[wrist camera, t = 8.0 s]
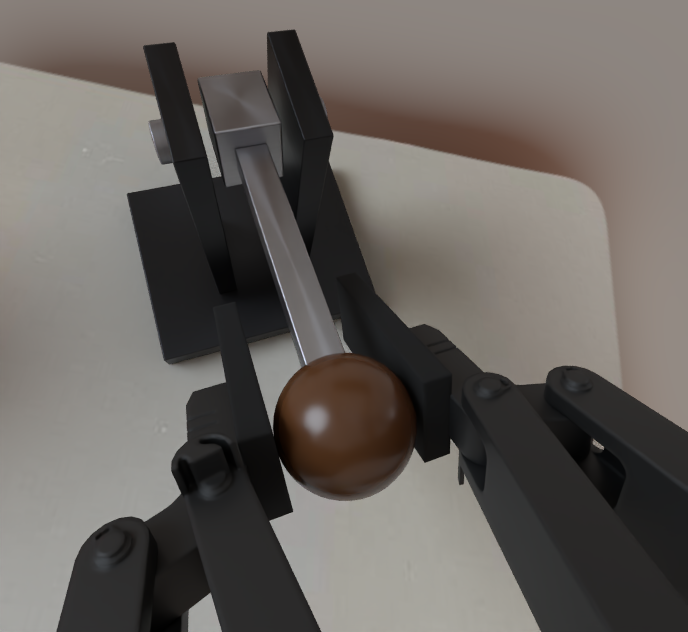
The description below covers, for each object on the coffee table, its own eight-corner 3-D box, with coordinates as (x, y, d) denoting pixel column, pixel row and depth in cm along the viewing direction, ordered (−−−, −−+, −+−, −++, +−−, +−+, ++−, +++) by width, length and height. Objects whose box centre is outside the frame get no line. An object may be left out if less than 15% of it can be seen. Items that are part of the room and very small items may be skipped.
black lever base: (374, 308, 26) (462, 189, 14) (169, 364, 23) (56, 276, 11) (325, 168, 28) (364, -39, 16) (132, 204, 26) (6, -14, 13)
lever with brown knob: (419, 479, 12) (462, 458, 9) (297, 526, 11) (296, 521, 8) (282, 136, 18) (279, 49, 15) (194, 150, 17) (170, 62, 14)
